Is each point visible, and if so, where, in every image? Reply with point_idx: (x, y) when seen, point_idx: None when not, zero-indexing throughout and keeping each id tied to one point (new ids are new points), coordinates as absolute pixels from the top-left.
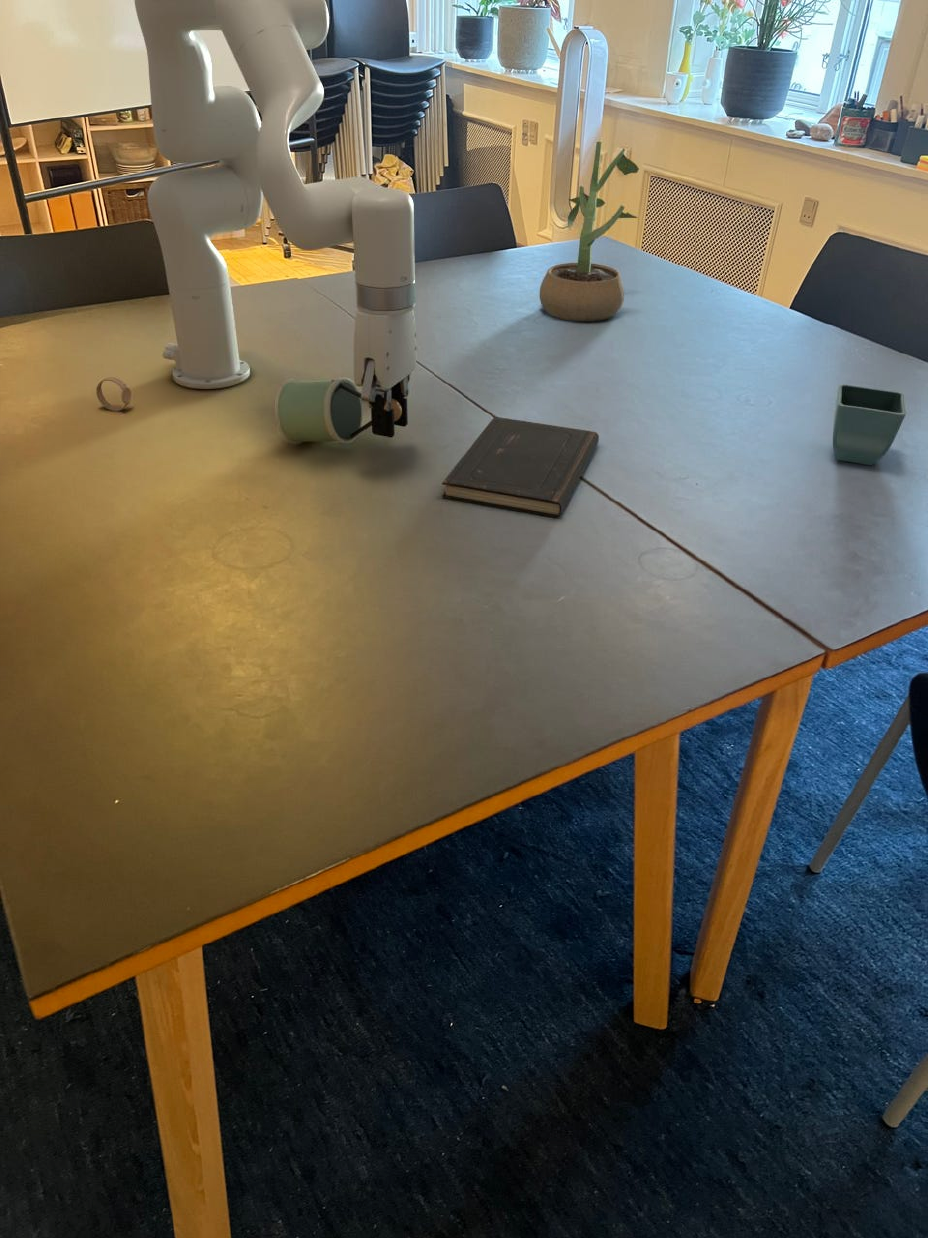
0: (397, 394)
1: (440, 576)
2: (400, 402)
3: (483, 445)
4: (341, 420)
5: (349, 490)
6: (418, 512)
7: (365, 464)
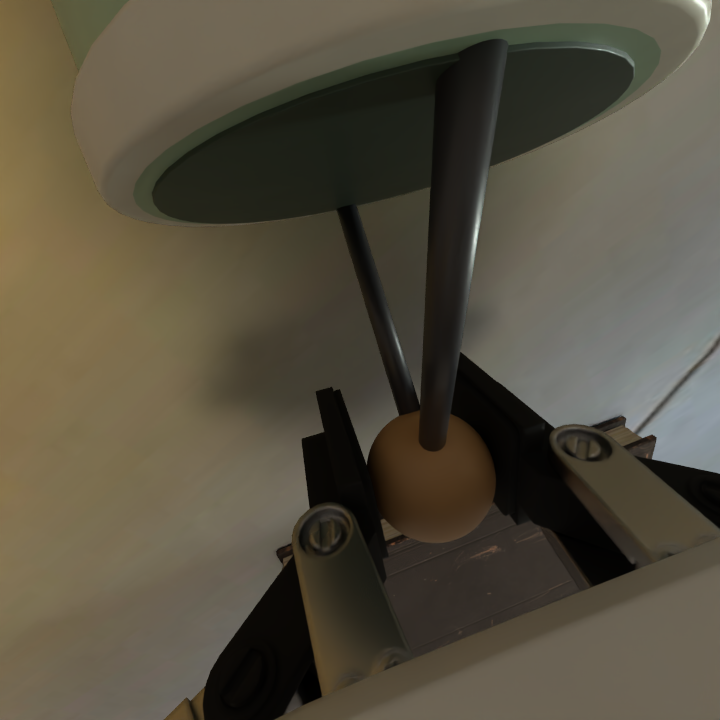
0: (534, 514)
1: (36, 713)
2: (500, 496)
3: (497, 520)
4: (285, 199)
5: (108, 395)
6: (183, 564)
7: (289, 306)
